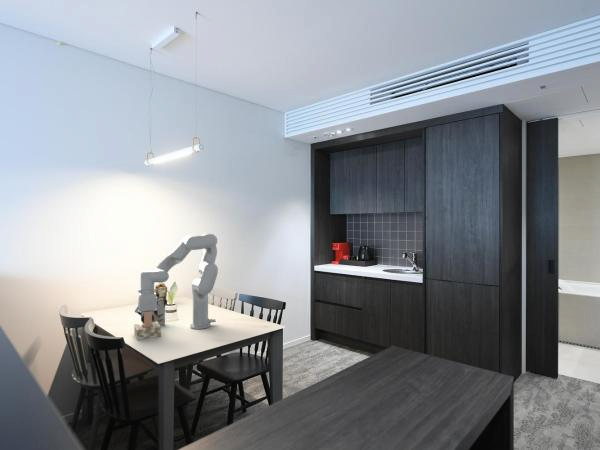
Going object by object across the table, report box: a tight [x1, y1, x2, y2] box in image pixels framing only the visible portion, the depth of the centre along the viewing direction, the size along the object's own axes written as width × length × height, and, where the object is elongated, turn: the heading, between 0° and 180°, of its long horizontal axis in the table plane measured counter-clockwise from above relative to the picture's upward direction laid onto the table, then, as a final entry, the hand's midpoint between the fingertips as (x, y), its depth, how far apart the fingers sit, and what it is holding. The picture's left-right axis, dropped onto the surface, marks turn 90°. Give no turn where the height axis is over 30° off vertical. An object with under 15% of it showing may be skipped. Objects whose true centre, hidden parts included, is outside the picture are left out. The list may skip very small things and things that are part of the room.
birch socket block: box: [133, 322, 162, 341], centre depth 217 cm, size 13×13×6 cm
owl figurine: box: [154, 282, 168, 306], centre depth 298 cm, size 18×12×17 cm, turn 45°
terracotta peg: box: [143, 311, 152, 328], centre depth 217 cm, size 6×4×12 cm
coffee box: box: [153, 299, 166, 327], centre depth 238 cm, size 9×6×16 cm
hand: (147, 321), depth 217 cm, fingers closed on terracotta peg, 4 cm apart
